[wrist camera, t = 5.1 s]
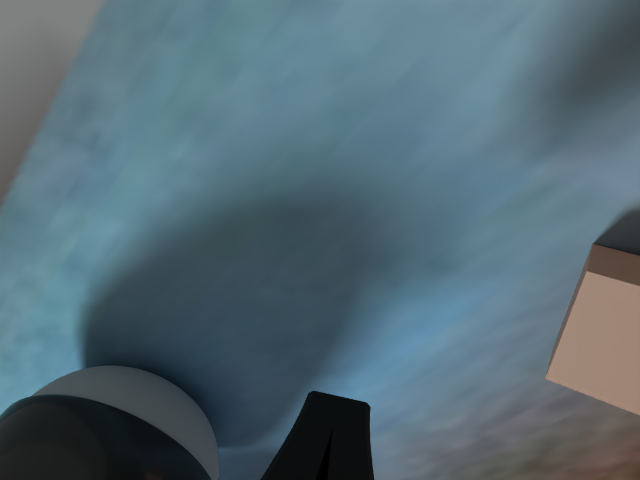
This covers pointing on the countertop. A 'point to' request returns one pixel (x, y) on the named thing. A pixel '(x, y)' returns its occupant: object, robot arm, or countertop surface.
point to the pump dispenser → (107, 430)
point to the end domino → (602, 331)
